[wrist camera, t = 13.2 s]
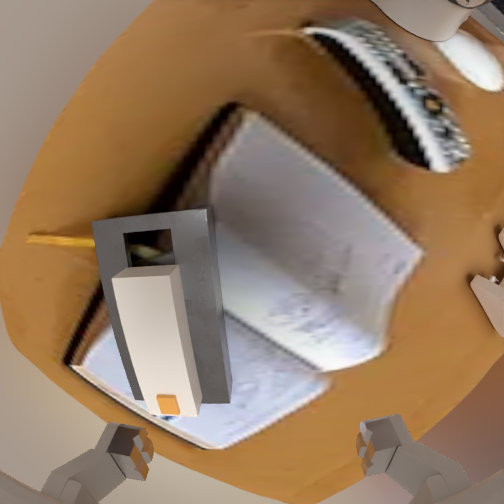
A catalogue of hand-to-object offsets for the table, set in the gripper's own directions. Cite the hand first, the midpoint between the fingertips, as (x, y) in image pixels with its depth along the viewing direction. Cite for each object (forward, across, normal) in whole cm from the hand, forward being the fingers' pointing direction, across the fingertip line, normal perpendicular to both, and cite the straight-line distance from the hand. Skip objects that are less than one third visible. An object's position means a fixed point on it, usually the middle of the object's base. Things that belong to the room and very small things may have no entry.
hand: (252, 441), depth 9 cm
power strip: (+22, +10, +7) cm, 25 cm away
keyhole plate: (+23, +10, +5) cm, 26 cm away
